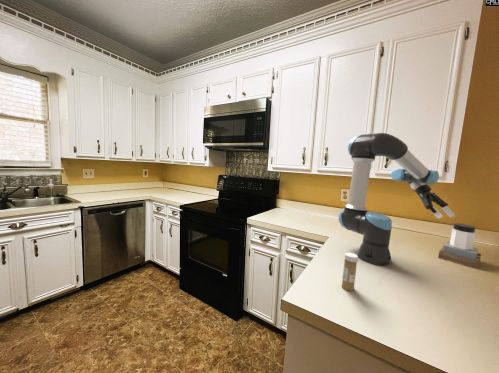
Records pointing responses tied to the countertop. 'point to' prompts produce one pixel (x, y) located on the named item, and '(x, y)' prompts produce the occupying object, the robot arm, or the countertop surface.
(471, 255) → the grey top brick
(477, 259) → the walnut base brick
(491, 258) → the countertop surface
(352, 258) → the sprinkles bottle
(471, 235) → the jar
